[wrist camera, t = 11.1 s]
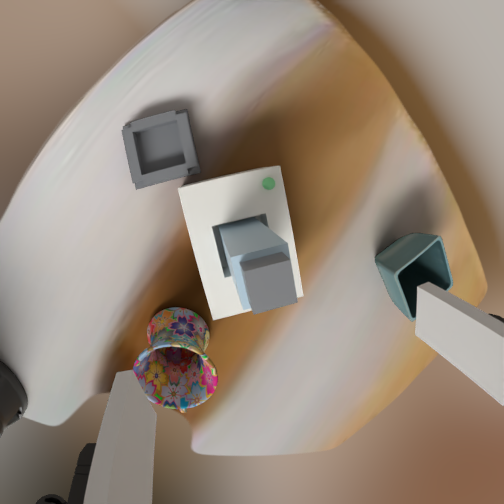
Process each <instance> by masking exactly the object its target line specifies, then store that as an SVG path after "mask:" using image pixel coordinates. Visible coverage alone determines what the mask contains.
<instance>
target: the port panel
mask: <svg viewBox="0 0 504 504" xmlns="http://www.w3.org/2000/svg"><path fill="white" fill-rule="evenodd" d="M178 191H179V195H180V200H181V204H182V208H183V212H184V216H185V220H186V224H187V228H188V232H189V235H190V239H191V243H192V247H193V251H194V254H195V258H196V262H197V265H198V269H199V273H200V276H201V280H202V283H203V287H204V290H205V294H206V297H207V301H208V304H209V308H210V311H211V314H212V318H213V320H216V319H220V318H224V317H228V316H232V315H236V314H240V313H244V312H247V311H251V310H252V309H251V308H250V309H246V310H243V308H242V305H241V302H240V299H239V296H238V293H237V290H236V287H235V285H234V282H233V279H232V276H231V273H230V270H229V267H228V264H227V261H226V257H225V253H224V249H223V245H222V240H221V236H220V232H219V228H218V225H221V224H226V223H230V222H234V221H238V220H242V219H246V218H250V217H255V218H256V219H257V220H259V221H260V222H261V223H263V224H264V225H265V226H267V227H268V228H269V229H270V230H272V231H273V232H274V233H276V234H277V235H278V236H279V237H281V238H282V239H283V240H285V241H286V242H287V243H288V247H289V253H290V259H291V264H292V270H293V276H294V282H295V288H296V294H297V298H298V297H302V296H303V291H302V285H301V278H300V272H299V266H298V260H297V254H296V249H295V243H294V237H293V231H292V226H291V220H290V215H289V210H288V204H287V199H286V194H285V189H284V183H283V178H282V173H281V168H280V166H270V167H261V168H256V169H252V170H247V171H242V172H238V173H233V174H228V175H224V176H220V177H215V178H211V179H207V180H203V181H199V182H195V183H191V184H187V185H183V186H181V187H179V188H178Z"/></svg>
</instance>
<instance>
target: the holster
mask: <svg viewBox="0 0 504 504" xmlns="http://www.w3.org/2000/svg"><path fill="white" fill-rule="evenodd" d="M122 135H123V140H124V145H125V150H126V154H127V159H128V164H129V168H130V173H131V177H132V182H133V183H135V187H136V190H137V189H140V188H144V187H147V186H151V185H154V184H158V183H162V182H165V181H169V180H173V179H177V178H181V177H185V176H189V175H193V174H197V173H201V171H200V167H199V162H198V158H197V153H196V149H195V144H194V139H193V135H192V130H191V125H190V121H189V116H188V111H187V109H184V110H180V111H176V112H175V110H172V111H168V112H165V113H161V114H157V115H153V116H150V117H146V118H143V119H139V120H136V121H133V122H131V124H129V125H126V126H123V130H122Z"/></svg>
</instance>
